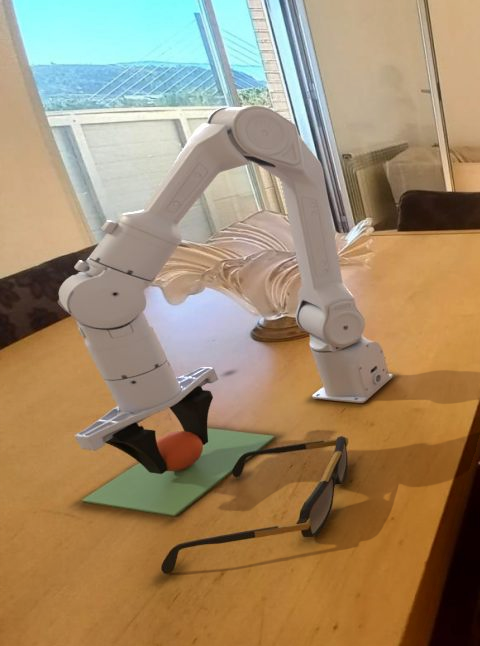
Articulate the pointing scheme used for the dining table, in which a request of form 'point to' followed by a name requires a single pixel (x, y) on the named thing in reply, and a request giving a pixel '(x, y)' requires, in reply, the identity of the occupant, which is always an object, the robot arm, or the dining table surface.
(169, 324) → the dining table surface
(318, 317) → the robot arm
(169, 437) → the egg
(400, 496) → the dining table surface
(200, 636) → the dining table surface
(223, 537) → the sunglasses
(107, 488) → the cloth
